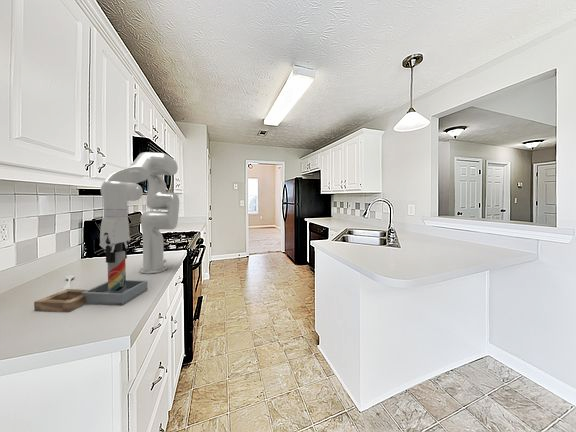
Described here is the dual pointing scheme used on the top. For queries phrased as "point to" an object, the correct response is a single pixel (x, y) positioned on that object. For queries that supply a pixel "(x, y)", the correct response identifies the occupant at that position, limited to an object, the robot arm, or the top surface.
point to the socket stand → (62, 301)
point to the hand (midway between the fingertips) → (116, 260)
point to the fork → (68, 282)
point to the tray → (118, 298)
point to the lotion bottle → (117, 271)
